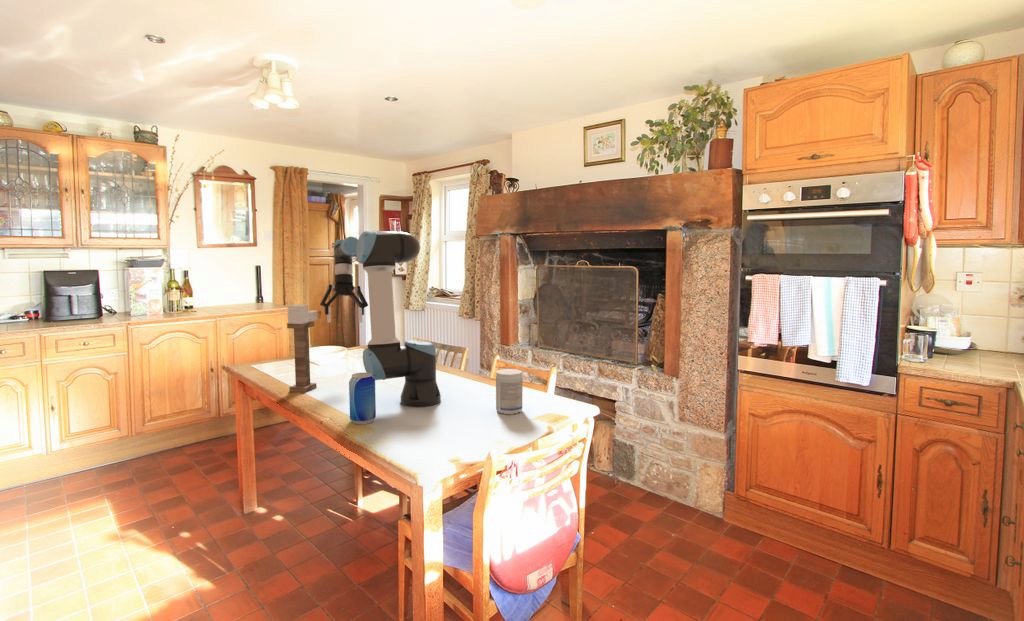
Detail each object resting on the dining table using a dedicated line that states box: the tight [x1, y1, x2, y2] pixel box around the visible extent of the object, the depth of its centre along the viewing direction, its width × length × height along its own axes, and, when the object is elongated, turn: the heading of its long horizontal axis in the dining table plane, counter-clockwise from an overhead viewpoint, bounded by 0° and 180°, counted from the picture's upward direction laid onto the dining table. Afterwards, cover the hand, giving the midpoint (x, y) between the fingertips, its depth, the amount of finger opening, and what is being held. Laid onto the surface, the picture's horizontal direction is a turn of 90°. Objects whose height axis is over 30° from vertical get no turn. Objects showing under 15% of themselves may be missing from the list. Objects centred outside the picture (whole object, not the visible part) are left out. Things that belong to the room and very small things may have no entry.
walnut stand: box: [286, 320, 317, 394], centre depth 209 cm, size 8×7×28 cm
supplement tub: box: [495, 368, 523, 415], centre depth 185 cm, size 10×10×15 cm
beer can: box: [348, 372, 377, 425], centre depth 172 cm, size 8×8×16 cm
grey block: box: [287, 304, 322, 324], centre depth 211 cm, size 16×6×7 cm, turn 169°
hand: (345, 322), depth 224 cm, fingers open, 13 cm apart
